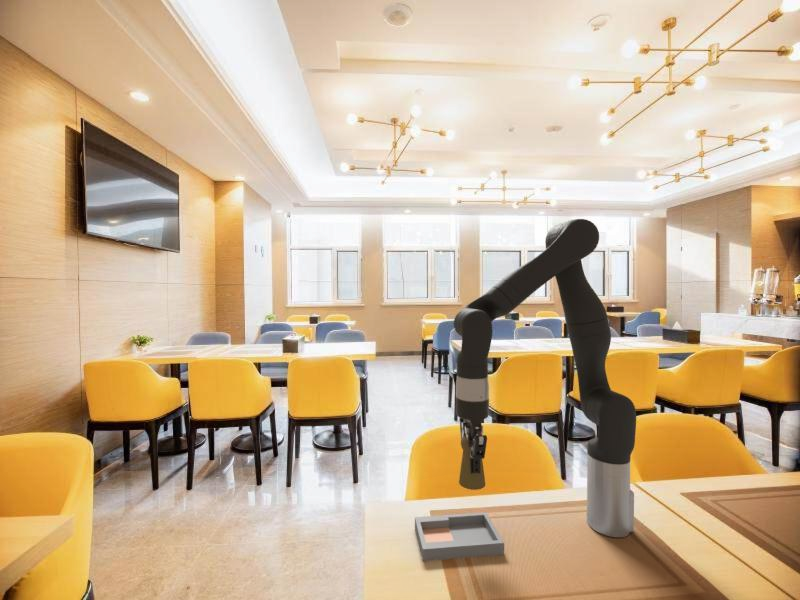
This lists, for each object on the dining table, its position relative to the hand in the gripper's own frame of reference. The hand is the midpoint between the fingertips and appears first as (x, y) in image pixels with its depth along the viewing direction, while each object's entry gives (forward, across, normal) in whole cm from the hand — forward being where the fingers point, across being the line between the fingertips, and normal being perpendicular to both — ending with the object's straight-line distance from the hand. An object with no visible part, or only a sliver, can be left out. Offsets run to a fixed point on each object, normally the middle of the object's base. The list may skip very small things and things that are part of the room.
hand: (472, 468), depth 87 cm
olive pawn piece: (+3, 0, 0) cm, 3 cm away
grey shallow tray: (+17, 0, +4) cm, 17 cm away
